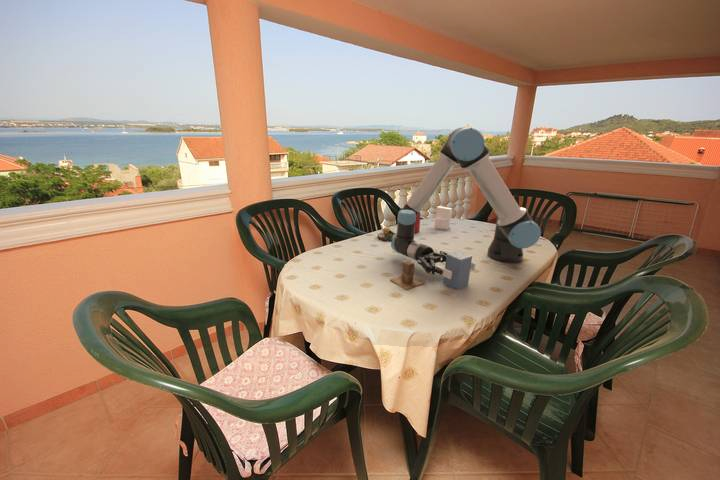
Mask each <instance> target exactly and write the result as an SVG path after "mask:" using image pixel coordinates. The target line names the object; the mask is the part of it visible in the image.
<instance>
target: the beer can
mask: <svg viewBox="0 0 720 480" xmlns="http://www.w3.org/2000/svg"><path fill="white" fill-rule="evenodd" d="M421 218H422V217H421V212H420V213H419V214H418V216H417V217H416V221H415V231H414V234H416V233H419V232H420V227H421Z"/></svg>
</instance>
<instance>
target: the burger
mask: <svg viewBox="0 0 720 480" xmlns="http://www.w3.org/2000/svg"><path fill="white" fill-rule="evenodd" d="M396 235H397V232H393V231H392V229H391V228H390V227H388V226H387V227H384V228H383V229H382V232H380V233H377V239H378V240H380V241H383V242H389V243H391V241H392V239H393V237H394V236H396Z"/></svg>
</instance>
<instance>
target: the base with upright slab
mask: <svg viewBox="0 0 720 480" xmlns="http://www.w3.org/2000/svg"><path fill="white" fill-rule="evenodd" d="M435 210H436V211H435V219H434V228H435V227H436V228H435V229H437V228H441V229H440V230H443V229H446V230H449V229H448V228H450V229H451V224H452V223H451V222H452V221H451V220H452V214H453V213H452V211H453V208H452V207H445V206H441V205H440V206H439V205H438V206H436V209H435Z"/></svg>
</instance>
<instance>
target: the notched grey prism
mask: <svg viewBox="0 0 720 480" xmlns="http://www.w3.org/2000/svg"><path fill="white" fill-rule="evenodd" d="M447 253H448V254H447V255H446V262H444V263H445V264H444V268H445V269H447V270H449V271H452V276H451V279H448V278H446V277H444V276H443V282H442V283H443V284H445V285H446V286H448V287H450V288H452V289H455V290H457V291H458V290H460V289H462V288H465V287H467V286H469V281H470V275H471V274H470V273H471V272H470V271H471V269H470V268H471V262H473V261H472V260H473V255H470V254H468V253H465V252H462V251H459V250H456V251H452V252H447Z"/></svg>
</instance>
